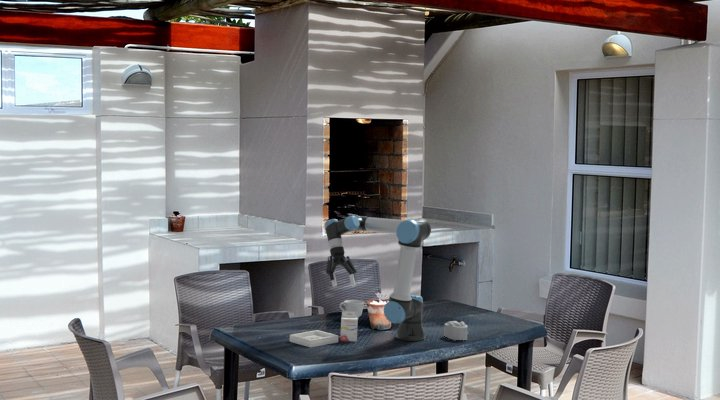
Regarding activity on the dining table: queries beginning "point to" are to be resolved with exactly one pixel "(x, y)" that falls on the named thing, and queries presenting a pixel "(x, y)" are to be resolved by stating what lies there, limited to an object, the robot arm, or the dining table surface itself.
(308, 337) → the tray
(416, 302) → the robot arm
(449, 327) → the lumpy-topped squat cylinder
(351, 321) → the ink cartridge box
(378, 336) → the dining table surface
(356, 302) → the teacup
